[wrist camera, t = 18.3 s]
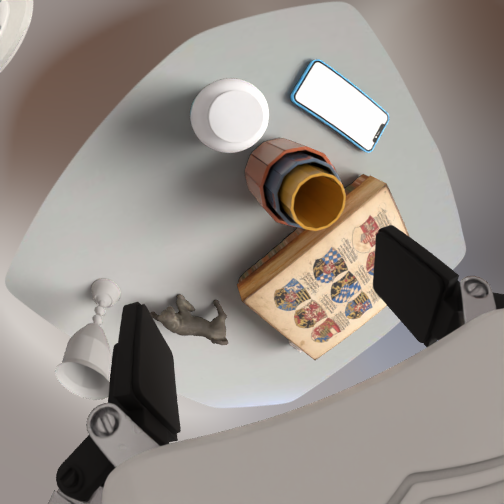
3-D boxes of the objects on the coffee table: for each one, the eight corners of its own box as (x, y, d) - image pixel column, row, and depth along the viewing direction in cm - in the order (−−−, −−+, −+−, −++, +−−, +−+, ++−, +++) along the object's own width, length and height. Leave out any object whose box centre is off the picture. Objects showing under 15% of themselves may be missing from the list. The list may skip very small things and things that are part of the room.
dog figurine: (228, 302, 47) (237, 333, 41) (216, 327, 49) (222, 358, 43) (158, 283, 43) (156, 315, 36) (149, 311, 45) (147, 343, 38)
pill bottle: (235, 77, 31) (263, 61, 20) (256, 127, 35) (293, 139, 24) (179, 100, 31) (177, 95, 20) (203, 150, 35) (213, 173, 24)
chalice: (77, 282, 39) (44, 369, 24) (110, 265, 39) (82, 355, 24) (102, 314, 43) (84, 403, 28) (134, 301, 43) (123, 393, 28)
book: (303, 348, 58) (407, 265, 54) (313, 370, 53) (425, 282, 48) (225, 283, 46) (362, 171, 42) (231, 309, 41) (386, 183, 36)
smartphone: (315, 56, 31) (391, 116, 37) (312, 57, 32) (386, 115, 38) (289, 99, 33) (369, 155, 39) (286, 99, 34) (365, 153, 40)
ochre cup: (255, 157, 36) (286, 180, 26) (299, 148, 37) (344, 168, 26) (263, 199, 39) (294, 237, 29) (304, 189, 40) (347, 222, 30)
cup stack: (239, 146, 36) (259, 161, 27) (305, 133, 37) (344, 145, 28) (252, 211, 41) (274, 244, 32) (313, 195, 42) (349, 223, 33)
